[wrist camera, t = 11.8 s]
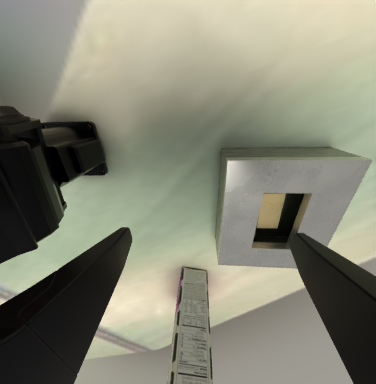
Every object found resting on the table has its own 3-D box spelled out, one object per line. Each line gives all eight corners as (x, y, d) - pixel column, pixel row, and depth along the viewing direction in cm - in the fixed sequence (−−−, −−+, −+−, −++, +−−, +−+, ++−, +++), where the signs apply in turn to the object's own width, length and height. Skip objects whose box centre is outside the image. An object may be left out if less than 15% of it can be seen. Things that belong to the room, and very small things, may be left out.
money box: (215, 237, 25) (218, 264, 21) (221, 148, 19) (227, 160, 14) (294, 240, 24) (315, 269, 20) (330, 147, 18) (372, 160, 13)
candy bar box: (199, 302, 34) (198, 444, 20) (176, 299, 34) (158, 438, 20) (209, 269, 29) (216, 429, 15) (182, 265, 29) (162, 420, 15)
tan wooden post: (250, 214, 23) (256, 228, 20) (255, 182, 21) (262, 193, 18) (268, 214, 23) (277, 228, 20) (275, 182, 20) (286, 193, 18)
